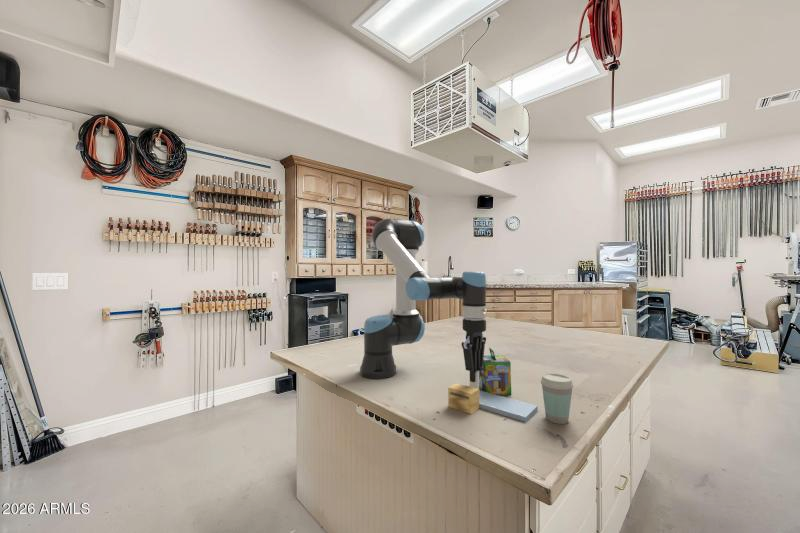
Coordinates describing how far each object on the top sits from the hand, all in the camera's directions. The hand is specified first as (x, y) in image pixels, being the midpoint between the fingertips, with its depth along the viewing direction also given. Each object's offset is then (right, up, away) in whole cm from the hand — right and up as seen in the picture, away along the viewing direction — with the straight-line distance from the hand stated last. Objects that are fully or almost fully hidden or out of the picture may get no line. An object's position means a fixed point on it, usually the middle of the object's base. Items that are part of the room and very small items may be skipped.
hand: (474, 390), depth 105 cm
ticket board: (+5, -3, -3) cm, 7 cm away
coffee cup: (+21, -4, -13) cm, 25 cm away
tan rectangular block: (-5, -3, -5) cm, 8 cm away
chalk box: (+9, -4, +9) cm, 13 cm away
